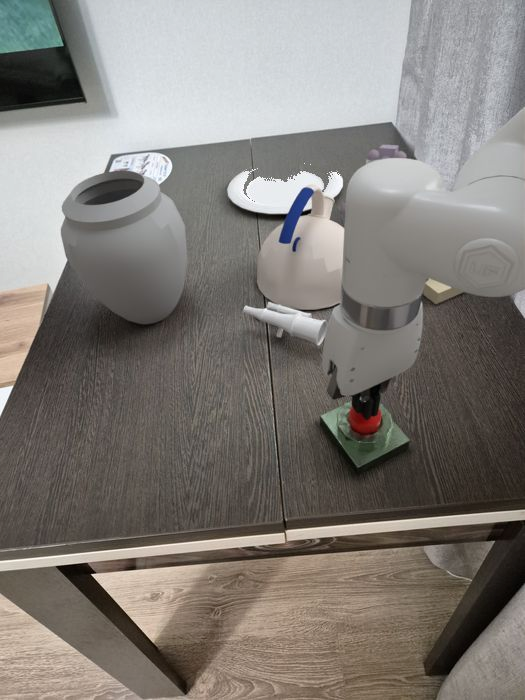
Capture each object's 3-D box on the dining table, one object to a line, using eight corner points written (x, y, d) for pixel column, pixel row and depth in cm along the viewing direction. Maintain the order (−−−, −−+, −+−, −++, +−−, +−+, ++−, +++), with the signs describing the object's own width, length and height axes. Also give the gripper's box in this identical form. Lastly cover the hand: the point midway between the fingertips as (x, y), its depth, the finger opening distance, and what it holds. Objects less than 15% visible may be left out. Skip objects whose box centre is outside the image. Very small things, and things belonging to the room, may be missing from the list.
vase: (101, 291, 88) (48, 172, 71) (196, 270, 90) (167, 150, 73) (98, 358, 75) (32, 232, 57) (210, 332, 77) (178, 203, 59)
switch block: (407, 449, 58) (412, 432, 55) (356, 476, 56) (358, 460, 53) (367, 401, 63) (369, 384, 61) (319, 424, 62) (319, 407, 59)
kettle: (375, 257, 88) (385, 168, 75) (340, 322, 76) (345, 230, 63) (283, 240, 95) (278, 156, 82) (238, 297, 83) (223, 209, 70)
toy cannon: (255, 328, 79) (263, 299, 79) (326, 351, 74) (336, 321, 73) (234, 324, 72) (244, 293, 71) (312, 350, 66) (323, 316, 66)
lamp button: (386, 426, 56) (388, 418, 55) (360, 439, 55) (361, 431, 54) (368, 404, 59) (369, 396, 58) (342, 416, 58) (343, 408, 57)
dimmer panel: (475, 287, 79) (479, 275, 77) (435, 304, 77) (438, 292, 75) (433, 257, 86) (436, 246, 84) (395, 273, 84) (397, 261, 82)
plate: (350, 215, 100) (351, 207, 99) (224, 225, 102) (223, 217, 101) (336, 161, 120) (336, 154, 119) (231, 171, 122) (230, 164, 121)
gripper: (416, 253, 46) (394, 368, 60) (293, 302, 43) (298, 412, 56) (469, 291, 42) (432, 407, 55) (335, 349, 38) (329, 458, 51)
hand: (364, 409), depth 55 cm, fingers closed
